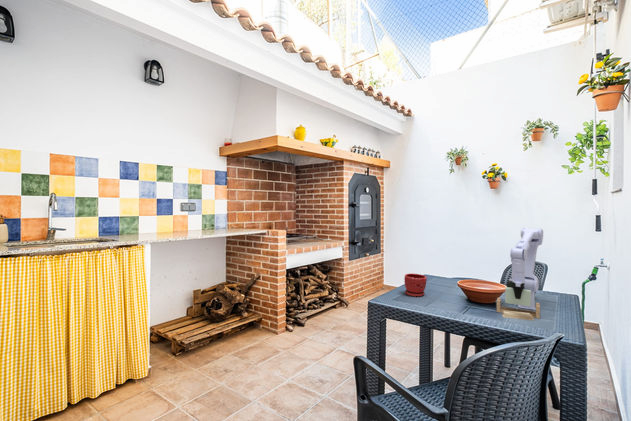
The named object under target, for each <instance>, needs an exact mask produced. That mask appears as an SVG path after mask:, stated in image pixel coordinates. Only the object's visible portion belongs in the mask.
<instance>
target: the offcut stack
mask: <svg viewBox="0 0 631 421" xmlns="http://www.w3.org/2000/svg"><path fill="white" fill-rule="evenodd" d="M501 315H502V318H508V319H509V318H510V319H517V320H525V321H535V318H534V317H533V316H532V315H531V314H530V313H524V312H514V311H505V310H503V313H501Z"/></svg>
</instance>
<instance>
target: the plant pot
mask: <svg viewBox="0 0 631 421" xmlns="http://www.w3.org/2000/svg"><path fill="white" fill-rule="evenodd" d="M426 286H427V276H425V275H424V274H419V273H406V274H404V287H405V290H404V292H405V294H406V295H408V296H411V297H416V296H417V297H422V296H424V295H425V290H426Z"/></svg>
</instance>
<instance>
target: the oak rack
mask: <svg viewBox="0 0 631 421" xmlns="http://www.w3.org/2000/svg"><path fill="white" fill-rule="evenodd" d="M535 309H536V310H530V309H523V308H515V307H508V306H502V298H501V297H497V298H496V313H501V314H503V310H505V311H514V312H524V313H530V314H531V315H532V316H533V317H534V319H537V320H538V319H541V318H540V314H541V305H540V302H535Z"/></svg>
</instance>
